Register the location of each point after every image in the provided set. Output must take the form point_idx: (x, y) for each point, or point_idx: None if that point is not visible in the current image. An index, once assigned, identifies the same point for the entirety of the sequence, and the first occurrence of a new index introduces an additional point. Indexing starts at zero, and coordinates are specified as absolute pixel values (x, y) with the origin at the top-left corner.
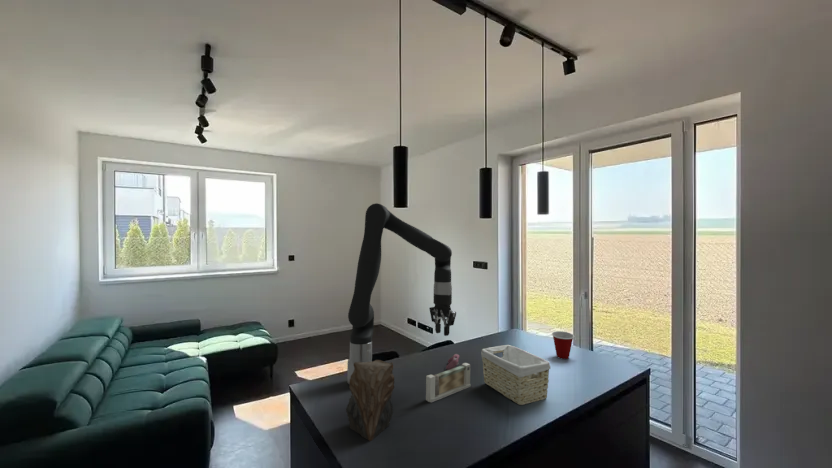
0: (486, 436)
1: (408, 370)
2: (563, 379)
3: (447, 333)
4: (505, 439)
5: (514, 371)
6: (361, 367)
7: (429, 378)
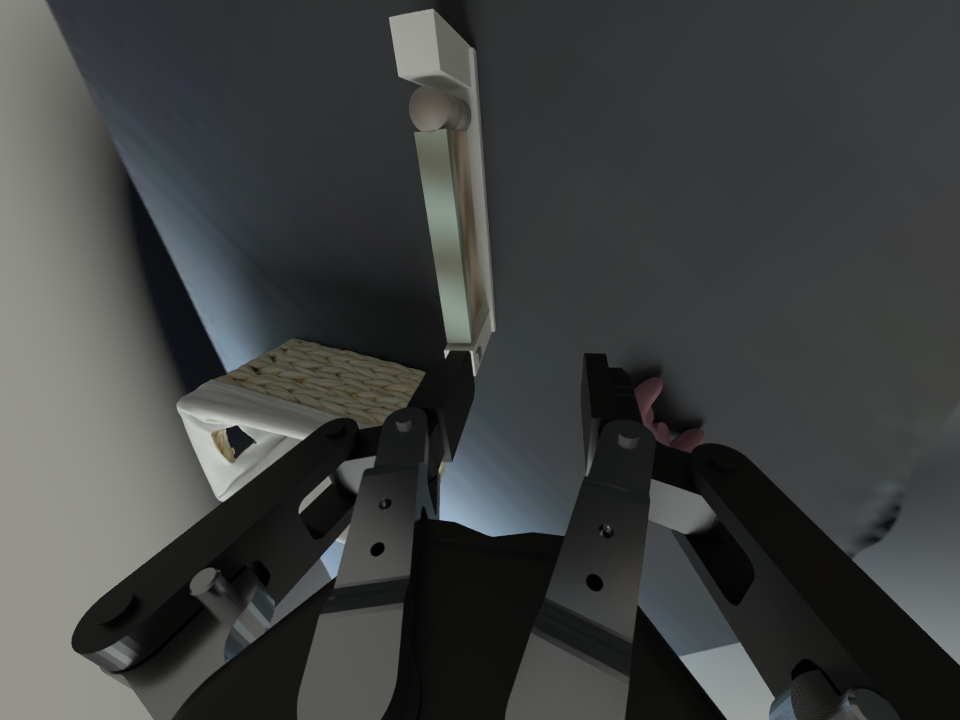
0: (142, 81)
1: (838, 222)
2: None
3: (429, 376)
4: (124, 130)
5: (219, 391)
6: None
7: (401, 16)
